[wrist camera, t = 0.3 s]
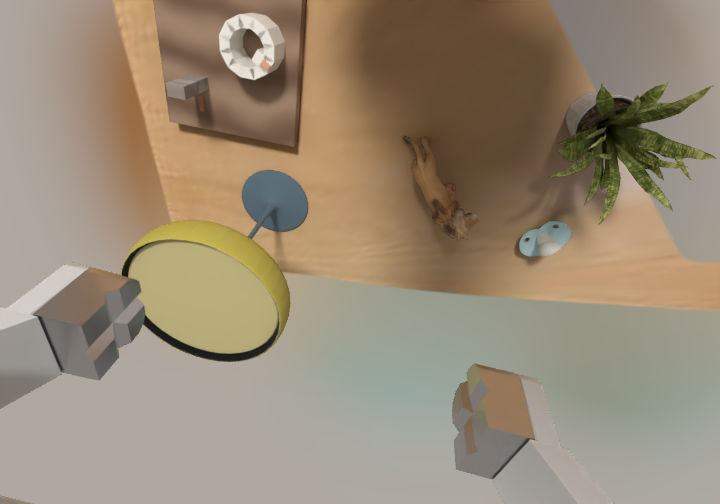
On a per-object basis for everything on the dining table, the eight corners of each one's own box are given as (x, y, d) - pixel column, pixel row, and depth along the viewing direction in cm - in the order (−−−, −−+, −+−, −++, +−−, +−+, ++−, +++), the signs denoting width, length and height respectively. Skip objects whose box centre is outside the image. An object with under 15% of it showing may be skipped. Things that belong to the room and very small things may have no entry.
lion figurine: (478, 201, 56) (486, 233, 49) (447, 220, 59) (451, 253, 51) (418, 123, 51) (417, 145, 44) (387, 147, 54) (381, 172, 46)
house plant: (530, 187, 54) (565, 252, 41) (507, 92, 47) (540, 132, 34) (646, 150, 49) (729, 210, 36) (638, 39, 43) (736, 61, 29)
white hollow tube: (224, 48, 47) (209, 52, 44) (249, 0, 44) (234, 1, 40) (267, 84, 49) (255, 91, 45) (294, 40, 46) (283, 44, 42)
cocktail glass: (329, 254, 65) (287, 373, 45) (228, 241, 67) (143, 351, 47) (331, 153, 55) (276, 249, 35) (212, 140, 57) (92, 225, 36)
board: (158, -36, 45) (113, -40, 38) (306, -7, 44) (286, -6, 38) (177, 117, 55) (144, 134, 49) (297, 142, 55) (280, 162, 48)
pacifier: (575, 239, 58) (560, 210, 55) (590, 264, 53) (574, 234, 50) (528, 260, 61) (511, 234, 59) (538, 285, 56) (520, 258, 54)
